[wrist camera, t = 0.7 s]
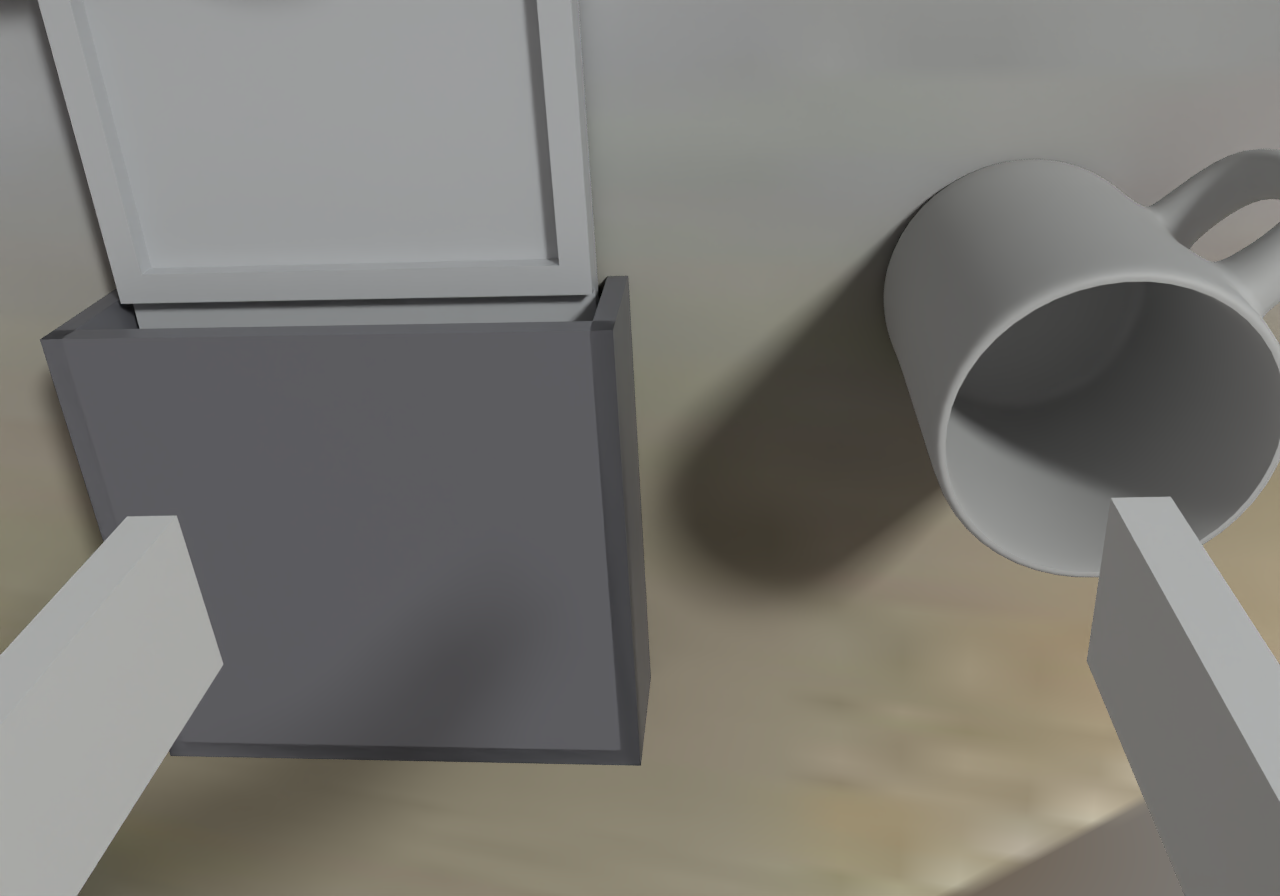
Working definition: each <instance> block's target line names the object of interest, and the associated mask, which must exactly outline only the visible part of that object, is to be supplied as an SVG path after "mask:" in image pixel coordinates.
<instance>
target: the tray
mask: <svg viewBox="0 0 1280 896" xmlns="http://www.w3.org/2000/svg"><path fill="white" fill-rule="evenodd" d="M38 3H39V7H40V10H41V14H42V18H43V21H44V25H45V28H46V32H47V36H48V39H49V43H50V47H51V50H52V54H53V58H54V61H55V65H56V69H57V72H58V76H59V80H60V83H61V87H62V90H63V94H64V98H65V101H66V105H67V109H68V112H69V116H70V120H71V123H72V127H73V131H74V134H75V138H76V141H77V145H78V149H79V152H80V156H81V160H82V163H83V167H84V171H85V174H86V178H87V182H88V185H89V189H90V193H91V196H92V200H93V203H94V207H95V211H96V214H97V218H98V222H99V225H100V229H101V233H102V236H103V240H104V244H105V247H106V251H107V254H108V258H109V262H110V265H111V269H112V273H113V276H114V280H115V284H116V287H117V291H118V295H119V298H120V302H121V304H133V306H134V309H135V313H136V317H137V321H138V324H139V328H140V329H158V328H216V327H274V326H332V325H390V324H448V323H507V322H565V321H593V319H594V316H595V313H596V310H597V307H598V304H599V291H598V277H597V262H596V248H595V233H594V219H593V204H592V190H591V176H590V161H589V147H588V132H587V118H586V103H585V89H584V74H583V60H582V45H581V31H580V16H579V2H578V0H38Z"/></svg>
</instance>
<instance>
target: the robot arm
mask: <svg viewBox="0 0 1280 896" xmlns="http://www.w3.org/2000/svg"><path fill="white" fill-rule="evenodd" d="M1087 663H1088V665H1089V667H1090V670H1091V672H1092V675H1093V677H1094V679H1095V682H1096V684H1097V687H1098V689H1099V691H1100V694H1101V696H1102V699H1103V701H1104V703H1105V706H1106V708H1107V711H1108V713H1109V715H1110V718H1111V720H1112V723H1113V725H1114V727H1115V730H1116V732H1117V735H1118V737H1119V739H1120V742H1121V744H1122V747H1123V749H1124V751H1125V754H1126V756H1127V759H1128V761H1129V763H1130V766H1131V768H1132V771H1133V773H1134V775H1135V778H1136V780H1137V783H1138V785H1139V787H1140V790H1141V792H1142V795H1143V797H1144V799H1145V802H1146V804H1147V807H1148V809H1149V812H1150V814H1151V816H1152V819H1153V821H1154V823H1155V826H1156V828H1157V831H1158V833H1159V835H1160V838H1161V840H1162V843H1163V845H1164V848H1165V850H1166V852H1167V854H1168V857H1169V859H1170V862H1171V864H1172V867H1173V869H1174V872H1175V874H1176V876H1177V879H1178V881H1179V883H1180V886H1181V888H1182V891H1183V893H1184V895H1185V896H1280V664H1279V663H1278V661H1277V660H1276V658H1275V657H1274V655H1273V654H1272V652H1271V651H1270V649H1269V648H1268V646H1267V644H1266V643H1265V641H1264V640H1263V638H1262V637H1261V635H1260V634H1259V632H1258V631H1257V629H1256V627H1255V626H1254V624H1253V623H1252V621H1251V620H1250V618H1249V617H1248V615H1247V614H1246V612H1245V610H1244V609H1243V607H1242V606H1241V604H1240V603H1239V601H1238V600H1237V598H1236V597H1235V595H1234V594H1233V592H1232V590H1231V589H1230V587H1229V586H1228V584H1227V583H1226V581H1225V580H1224V578H1223V577H1222V575H1221V573H1220V572H1219V570H1218V569H1217V567H1216V566H1215V564H1214V563H1213V561H1212V560H1211V558H1210V556H1209V555H1208V553H1207V552H1206V550H1205V549H1204V547H1203V546H1202V544H1201V543H1200V541H1199V540H1198V538H1197V536H1196V535H1195V533H1194V532H1193V530H1192V529H1191V527H1190V526H1189V524H1188V523H1187V521H1186V519H1185V518H1184V516H1183V515H1182V513H1181V512H1180V510H1179V509H1178V507H1177V506H1176V504H1175V502H1174V501H1173V499H1172V498H1171V497H1127V498H1111V500H1110V507H1109V513H1108V520H1107V527H1106V534H1105V541H1104V547H1103V554H1102V561H1101V568H1100V575H1099V582H1098V588H1097V595H1096V602H1095V609H1094V616H1093V622H1092V629H1091V636H1090V643H1089V650H1088V656H1087ZM222 666H223V661H222V658H221V655H220V652H219V648H218V645H217V642H216V639H215V636H214V633H213V629H212V626H211V623H210V620H209V617H208V613H207V610H206V607H205V604H204V601H203V598H202V594H201V591H200V588H199V585H198V582H197V578H196V575H195V572H194V569H193V566H192V563H191V559H190V556H189V553H188V550H187V547H186V543H185V540H184V537H183V534H182V531H181V528H180V524H179V521H178V518H177V516H127V517H126V518H125V519H124V520H123V522H122V523H121V524H120V525H119V526H118V527H117V528H116V529H115V530H114V531H113V532H112V534H111V535H110V536H109V537H108V538H107V539H106V540H105V541H104V542H103V543H102V545H101V546H100V547H99V548H98V549H97V550H96V551H95V552H94V553H93V554H92V555H91V557H90V558H89V559H88V560H87V561H86V562H85V563H84V564H83V565H82V566H81V567H80V569H79V570H78V571H77V572H76V573H75V574H74V575H73V576H72V577H71V578H70V580H69V581H68V582H67V583H66V584H65V585H64V586H63V587H62V588H61V589H60V590H59V592H58V593H57V594H56V595H55V596H54V597H53V598H52V599H51V600H50V601H49V602H48V604H47V605H46V606H45V607H44V608H43V609H42V610H41V611H40V612H39V613H38V615H37V616H36V617H35V618H34V619H33V620H32V621H31V622H30V623H29V624H28V625H27V627H26V628H25V629H24V630H23V631H22V632H21V633H20V634H19V635H18V636H17V637H16V639H15V640H14V641H13V642H12V643H11V644H10V645H9V646H8V647H7V648H6V650H5V651H4V652H3V653H2V654H1V655H0V896H77V895H78V893H79V892H80V890H81V889H82V887H83V885H84V884H85V882H86V881H87V879H88V878H89V876H90V874H91V873H92V871H93V870H94V868H95V866H96V865H97V863H98V862H99V860H100V859H101V857H102V855H103V854H104V852H105V851H106V849H107V848H108V846H109V844H110V843H111V841H112V840H113V838H114V836H115V835H116V833H117V832H118V830H119V829H120V827H121V825H122V824H123V822H124V821H125V819H126V818H127V816H128V814H129V813H130V811H131V810H132V808H133V806H134V805H135V803H136V802H137V800H138V799H139V797H140V795H141V794H142V792H143V791H144V789H145V788H146V786H147V784H148V783H149V781H150V780H151V778H152V776H153V775H154V773H155V772H156V770H157V769H158V767H159V765H160V764H161V762H162V761H163V759H164V758H165V756H166V754H167V753H168V751H169V750H170V748H171V746H172V745H173V743H174V742H175V740H176V739H177V737H178V735H179V734H180V732H181V731H182V729H183V728H184V726H185V724H186V723H187V721H188V720H189V718H190V716H191V715H192V713H193V712H194V710H195V709H196V707H197V705H198V704H199V702H200V701H201V699H202V698H203V696H204V694H205V693H206V691H207V690H208V688H209V686H210V685H211V683H212V682H213V680H214V679H215V677H216V675H217V674H218V672H219V671H220V669H221V667H222Z"/></svg>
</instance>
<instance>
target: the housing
mask: <svg viewBox="0 0 1280 896" xmlns="http://www.w3.org/2000/svg"><path fill="white" fill-rule="evenodd" d="M40 341H41V344H42V347H43V351H44V354H45V357H46V360H47V363H48V366H49V370H50V373H51V376H52V379H53V382H54V386H55V389H56V392H57V395H58V398H59V402H60V405H61V408H62V411H63V414H64V417H65V421H66V424H67V427H68V430H69V433H70V437H71V440H72V443H73V446H74V449H75V452H76V456H77V459H78V462H79V465H80V468H81V472H82V475H83V478H84V481H85V484H86V488H87V491H88V494H89V497H90V500H91V503H92V507H93V510H94V513H95V516H96V519H97V523H98V526H99V529H100V532H101V535H102V538H103V542H104V541H105V540H106V539H107V538H108V537H109V536H110V535H111V534H112V532H113V531H114V530H115V529H116V528H117V527H118V526H119V525H120V524H121V523H122V522H123V520H124V519H125V518H126V517H127V516H177V518H178V521H179V524H180V528H181V531H182V534H183V537H184V540H185V543H186V547H187V550H188V553H189V556H190V559H191V563H192V566H193V569H194V572H195V575H196V578H197V582H198V585H199V588H200V591H201V594H202V598H203V601H204V604H205V607H206V610H207V613H208V617H209V620H210V623H211V626H212V629H213V633H214V636H215V639H216V642H217V645H218V648H219V652H220V655H221V658H222V661H223V666H222V667H221V669H220V671H219V672H218V674H217V675H216V677H215V679H214V680H213V682H212V683H211V685H210V686H209V688H208V690H207V691H206V693H205V694H204V696H203V698H202V699H201V701H200V702H199V704H198V705H197V707H196V709H195V710H194V712H193V713H192V715H191V716H190V718H189V720H188V721H187V723H186V724H185V726H184V728H183V729H182V731H181V732H180V734H179V735H178V737H177V739H176V740H175V742H174V743H173V745H172V746H171V748H170V750H169V752H170V755H171V756H206V757H254V758H302V759H351V760H399V761H447V762H496V763H544V764H592V765H641V759H642V750H643V741H644V733H645V724H646V715H647V706H648V698H649V689H650V680H651V674H650V656H649V639H648V621H647V603H646V585H645V567H644V549H643V532H642V514H641V496H640V478H639V460H638V442H637V424H636V407H635V389H634V371H633V353H632V335H631V317H630V299H629V282H628V276H609V277H607V280H606V283H605V286H604V289H603V292H602V295H601V298H600V301H599V304H598V307H597V310H596V313H595V316H594V319H593V321H565V322H507V323H448V324H390V325H332V326H274V327H216V328H158V329H140V328H139V324H138V321H137V317H136V313H135V309H134V306H133V304H121V302H120V298H119V295H118V291H117V289H115V290H114V291H112V292H111V293H109V294H108V295H106V296H105V297H103V298H102V299H100V300H99V301H97V302H96V303H94V304H93V305H91V306H90V307H88V308H87V309H85V310H84V311H82V312H81V313H79V314H78V315H76V316H75V317H73V318H72V319H70V320H69V321H67V322H66V323H64V324H63V325H61V326H60V327H58V328H57V329H55V330H54V331H52V332H51V333H49V334H48V335H46V336H45V337H43V338H42V339H40Z"/></svg>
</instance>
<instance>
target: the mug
mask: <svg viewBox="0 0 1280 896" xmlns="http://www.w3.org/2000/svg"><path fill="white" fill-rule="evenodd" d="M1265 199H1280V150H1277V149H1257V150H1249V151H1242V152H1239V153H1236V154H1233V155H1230V156H1227V157H1225V158H1223V159H1221V160H1219V161H1217V162H1215V163H1213V164H1212V165H1210V166H1208V167H1207V168H1205V169H1203V170H1202V171H1200V172H1199V173H1197V174H1196V175H1194V176H1193V177H1191V178H1190V179H1188V180H1187V181H1186V182H1184V183H1183V184H1181V185H1180V186H1179V187H1177V188H1176V189H1175V190H1173V191H1172V192H1170V193H1169V194H1168V195H1166V196H1165V197H1164V198H1162V199H1161V200H1159V201H1158V202H1156V203H1155V204H1153V205H1151V206H1149V207H1144V206H1142V205H1140V204H1138V203H1136V202H1135V201H1133V200H1132V199H1130V198H1129V197H1127V196H1126V195H1125V194H1124V193H1123V192H1121V191H1120V190H1119V189H1118V188H1116V187H1115V186H1114V185H1113V184H1112V183H1110V182H1108V181H1107V180H1105V179H1103V178H1102V177H1100V176H1098V175H1096V174H1095V173H1093V172H1091V171H1088V170H1086V169H1083V168H1081V167H1078V166H1076V165H1072V164H1068V163H1064V162H1060V161H1052V160H1043V159H1029V160H1015V161H1009V162H1002V163H998V164H995V165H991V166H988V167H984V168H982V169H979V170H977V171H974V172H972V173H969V174H967V175H965V176H963V177H962V178H960V179H958V180H956V181H955V182H953V183H951V184H950V185H948V186H947V187H945V188H944V189H943V190H941V191H940V192H939V193H937V194H936V195H935V196H934V197H933V198H932V199H930V200H929V201H928V202H927V203H926V204H925V205H924V206H923V207H922V208H921V209H920V210H919V212H918V213H917V214H916V215H915V216H914V217H913V219H912V220H911V221H910V223H909V224H908V226H907V227H906V229H905V230H904V232H903V233H902V235H901V237H900V239H899V241H898V243H897V245H896V247H895V249H894V251H893V254H892V257H891V260H890V262H889V265H888V269H887V274H886V279H885V284H884V312H885V320H886V325H887V329H888V333H889V337H890V340H891V343H892V345H893V348H894V350H895V353H896V356H897V358H898V361H899V363H900V366H901V369H902V372H903V375H904V378H905V381H906V385H907V388H908V391H909V394H910V397H911V400H912V403H913V407H914V410H915V413H916V416H917V419H918V422H919V425H920V429H921V432H922V435H923V438H924V441H925V444H926V447H927V451H928V454H929V457H930V460H931V463H932V466H933V469H934V472H935V475H936V477H937V480H938V482H939V485H940V488H941V490H942V493H943V495H944V497H945V498H946V500H947V502H948V503H949V505H950V507H951V509H952V510H953V512H954V514H955V515H956V516H957V517H958V519H959V520H960V521H961V522H962V524H963V525H964V526H965V527H966V529H968V530H969V531H970V532H971V533H972V534H973V535H974V536H975V537H976V538H977V539H978V540H979V541H980V542H982V543H983V544H985V545H986V546H987V547H989V548H990V549H992V550H993V551H995V552H996V553H997V554H999V555H1001V556H1003V557H1005V558H1007V559H1009V560H1011V561H1013V562H1015V563H1017V564H1020V565H1023V566H1025V567H1028V568H1031V569H1034V570H1038V571H1042V572H1046V573H1050V574H1054V575H1063V576H1071V577H1099V575H1100V568H1101V561H1102V554H1103V547H1104V541H1105V534H1106V527H1107V520H1108V513H1109V507H1110V500H1111V498H1127V497H1171V498H1172V499H1173V501H1174V502H1175V504H1176V506H1177V507H1178V509H1179V510H1180V512H1181V513H1182V515H1183V516H1184V518H1185V519H1186V521H1187V523H1188V524H1189V526H1190V527H1191V529H1192V530H1193V532H1194V533H1195V535H1196V536H1197V538H1198V540H1199V541H1200V543H1201V544H1202V545H1203V544H1205V543H1206V542H1208V541H1209V540H1210V539H1212V538H1213V537H1215V536H1216V535H1218V534H1219V533H1221V532H1222V531H1223V530H1224V529H1226V528H1227V527H1228V526H1229V525H1230V524H1231V523H1233V522H1234V521H1235V520H1236V519H1237V518H1239V517H1240V515H1241V514H1242V513H1243V512H1244V511H1245V510H1246V509H1247V508H1248V507H1249V506H1250V505H1251V504H1252V503H1253V502H1254V500H1255V499H1256V498H1257V496H1258V495H1259V494H1260V492H1261V491H1262V490H1263V488H1264V487H1265V486H1266V484H1267V483H1268V481H1269V479H1270V477H1271V476H1272V474H1273V472H1274V470H1275V469H1276V467H1277V465H1278V463H1279V460H1280V345H1279V342H1278V341H1277V339H1276V338H1275V336H1274V335H1273V333H1272V331H1271V330H1270V328H1269V327H1268V325H1267V324H1266V322H1265V321H1264V320H1263V317H1264V316H1265V314H1266V313H1267V312H1268V311H1269V310H1270V309H1272V308H1273V307H1274V306H1275V305H1276V304H1278V303H1279V302H1280V222H1279V223H1278V224H1277V225H1276V226H1275V227H1273V228H1272V229H1271V230H1270V231H1268V232H1267V233H1266V234H1264V235H1263V236H1262V237H1260V238H1259V239H1257V240H1256V241H1255V242H1253V243H1252V244H1250V245H1249V246H1247V247H1245V248H1244V249H1242V250H1241V251H1239V252H1237V253H1235V254H1234V255H1232V256H1230V257H1228V258H1226V259H1223V260H1221V261H1217V262H1211V261H1208V260H1206V259H1204V258H1202V257H1200V256H1199V255H1197V254H1196V253H1194V252H1192V251H1191V250H1189V249H1190V248H1191V246H1192V245H1193V244H1194V243H1195V242H1196V241H1197V240H1198V239H1199V238H1200V237H1201V236H1202V235H1203V234H1205V233H1206V232H1207V231H1208V230H1209V229H1211V228H1212V227H1213V226H1215V225H1216V224H1217V223H1219V222H1220V221H1221V220H1223V219H1224V218H1226V217H1227V216H1229V215H1230V214H1232V213H1234V212H1235V211H1237V210H1239V209H1240V208H1242V207H1245V206H1247V205H1249V204H1251V203H1253V202H1257V201H1260V200H1265Z"/></svg>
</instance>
